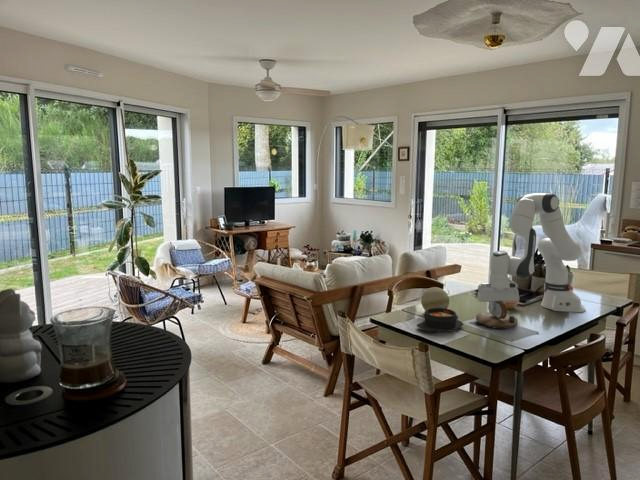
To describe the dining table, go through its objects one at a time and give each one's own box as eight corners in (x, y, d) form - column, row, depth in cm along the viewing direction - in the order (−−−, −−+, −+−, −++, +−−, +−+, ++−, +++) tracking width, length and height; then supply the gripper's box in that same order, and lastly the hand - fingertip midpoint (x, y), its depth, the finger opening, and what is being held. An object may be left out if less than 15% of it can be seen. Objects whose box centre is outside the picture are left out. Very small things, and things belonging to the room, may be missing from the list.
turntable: (525, 321, 245) (525, 313, 244) (502, 330, 233) (503, 321, 232) (491, 312, 261) (491, 304, 260) (468, 319, 249) (468, 311, 248)
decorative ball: (437, 320, 253) (438, 292, 251) (415, 313, 265) (415, 287, 262) (454, 314, 263) (455, 287, 260) (432, 308, 274) (432, 282, 272)
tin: (506, 321, 239) (508, 305, 238) (500, 321, 239) (502, 304, 238) (491, 312, 254) (494, 296, 253) (486, 311, 254) (488, 296, 253)
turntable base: (511, 321, 251) (511, 318, 251) (510, 329, 238) (510, 326, 238) (482, 318, 256) (483, 315, 256) (481, 326, 243) (481, 323, 243)
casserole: (445, 319, 255) (446, 303, 254) (472, 329, 239) (472, 313, 238) (408, 326, 244) (409, 310, 242) (433, 338, 227) (434, 321, 226)
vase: (514, 304, 280) (516, 275, 277) (521, 311, 267) (523, 280, 264) (490, 304, 282) (491, 274, 279) (496, 311, 268) (498, 280, 265)
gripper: (480, 285, 241) (479, 311, 243) (520, 284, 241) (519, 311, 243) (476, 281, 247) (474, 307, 249) (515, 281, 247) (514, 307, 249)
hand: (497, 309), depth 246 cm, fingers closed on tin, 3 cm apart
